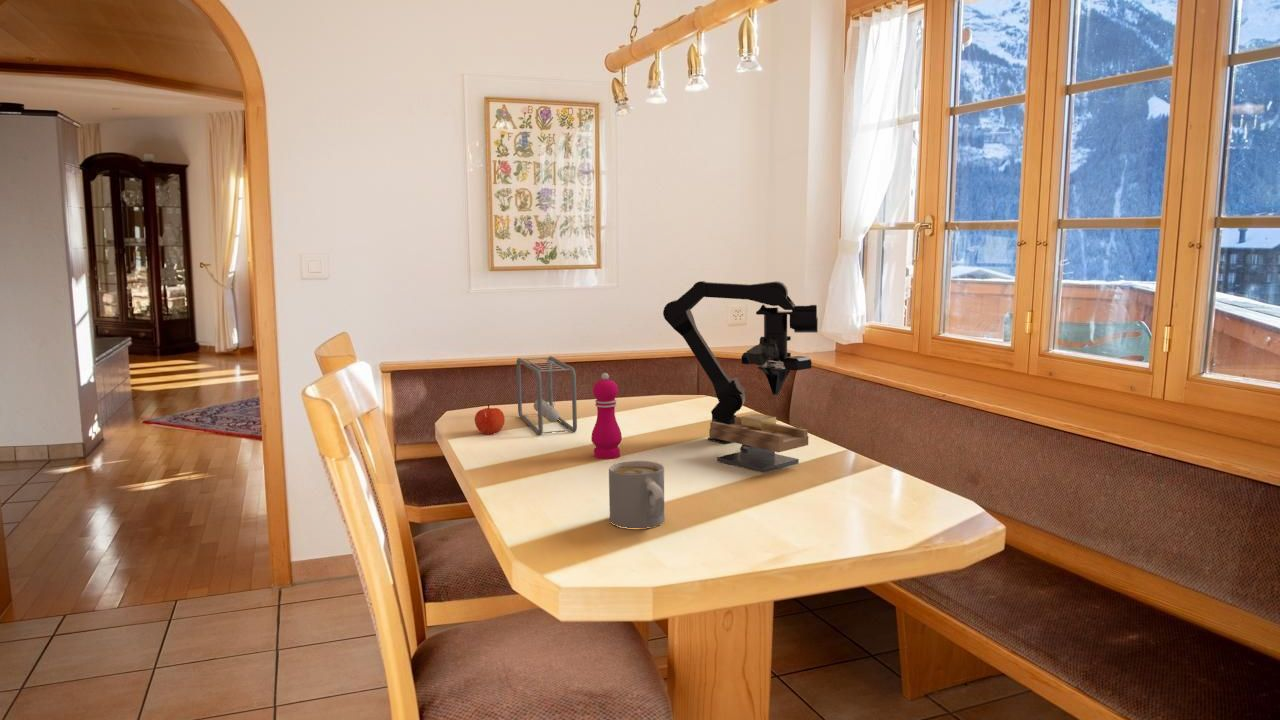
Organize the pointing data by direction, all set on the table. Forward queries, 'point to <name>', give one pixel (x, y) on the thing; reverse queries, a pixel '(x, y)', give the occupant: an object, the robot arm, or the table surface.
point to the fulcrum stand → (757, 459)
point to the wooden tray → (760, 436)
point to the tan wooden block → (759, 422)
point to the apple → (489, 420)
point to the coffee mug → (636, 494)
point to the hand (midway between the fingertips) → (775, 394)
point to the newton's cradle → (541, 405)
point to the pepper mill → (606, 420)
